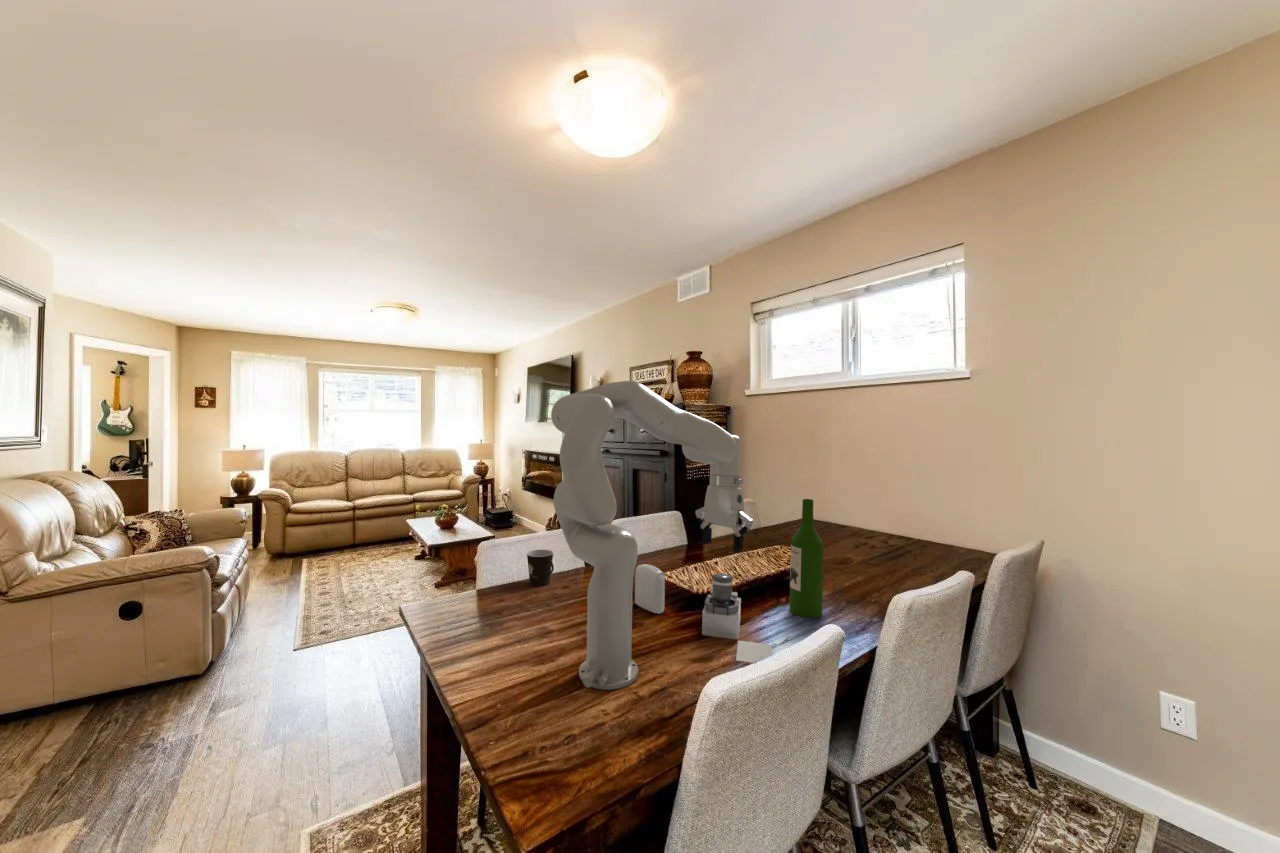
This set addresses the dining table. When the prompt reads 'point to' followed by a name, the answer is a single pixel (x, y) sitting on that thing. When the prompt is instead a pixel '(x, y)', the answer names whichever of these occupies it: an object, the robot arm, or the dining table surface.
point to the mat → (752, 651)
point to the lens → (722, 590)
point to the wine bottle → (806, 567)
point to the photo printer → (650, 588)
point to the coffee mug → (540, 567)
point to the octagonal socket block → (722, 618)
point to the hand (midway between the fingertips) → (721, 547)
